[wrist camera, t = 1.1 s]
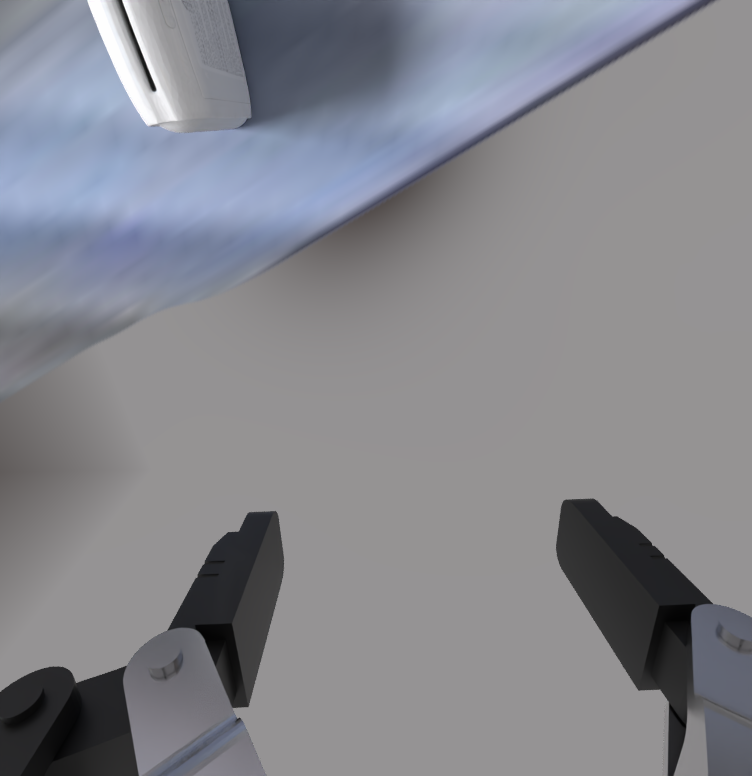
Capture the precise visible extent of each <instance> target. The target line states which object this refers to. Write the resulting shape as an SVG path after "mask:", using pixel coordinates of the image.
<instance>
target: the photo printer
mask: <svg viewBox="0 0 752 776" xmlns="http://www.w3.org/2000/svg"><path fill="white" fill-rule="evenodd" d="M87 1H88V4H89V6H90V9H91V12H92V14H93V17H94V19H95V22H96V24H97V26H98V29H99V32H100V34H101V36H102V39H103V41H104V43H105V46H106V48H107V50H108V53H109V55H110V57H111V60H112V62H113V64H114V66H115V69H116V71H117V73H118V75H119V77H120V79H121V81H122V83H123V85H124V87H125V89H126V91H127V93H128V95H129V97H130V99H131V101H132V103H133V104H134V106H135V108H136V109H137V111H138V112H139V114H140V116H141V117H142V119H143V120H144V122H145V123H146V124H147V125H148V126H150V127H155V126H161V127H163V128H164V129H167V130H169V131H172V132H177V133H191V132H205V131H218V130H230V129H235V128H238V127H240V126H241V125H242V124H244V122H245V121H246V120H247V118H251V104H250V96H249V91H248V86H247V81H246V76H245V71H244V67H243V63H242V58H241V54H240V50H239V45H238V41H237V37H236V32H235V28H234V24H233V20H232V16H231V11H230V8H229V3H228V0H87Z"/></svg>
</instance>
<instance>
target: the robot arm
mask: <svg viewBox="0 0 752 776" xmlns="http://www.w3.org/2000/svg"><path fill="white" fill-rule="evenodd" d="M556 551H557V557H558V561H559V564H560V566H561V568H562V570H563V572H564V573H565V575H566V577H567V578H568V580H569V581H570V583H571V584H572V586H573V588H574V589H575V591H576V592H577V594H578V596H579V597H580V599H581V600H582V602H583V603H584V605H585V607H586V608H587V610H588V611H589V613H590V615H591V616H592V618H593V619H594V621H595V622H596V624H597V626H598V627H599V629H600V630H601V632H602V634H603V635H604V637H605V638H606V640H607V641H608V643H609V644H610V646H611V648H612V649H613V651H614V652H615V654H616V656H617V657H618V659H619V660H620V662H621V664H622V665H623V667H624V668H625V670H626V672H627V673H628V675H629V676H630V678H631V679H632V681H633V683H634V684H635V686H636V687H637V689H638V690H659V689H660V690H661V691H662V693H663V694H664V695H665V697H666V698H667V702H666V706H665V711H664V748H663V776H752V617H750V616H748V615H746V614H744V613H741V612H740V611H737V610H735V609H732V608H729V607H726V606H721V605H716V604H713V603H712V602H711V601H710V600H709V599H708V598H707V597H706V596H705V595H704V594H703V593H701V591H700V590H699V589H698V588H697V587H696V586H694V584H693V583H692V582H690V581H689V580H688V579H687V578H686V577H685V576H684V575H683V574H682V573H681V572H680V571H679V570H678V569H677V568H676V567H675V566H674V565H673V564H672V563H671V562H670V561H669V560H668V559H665V558H664V555H663V554H662V553H661V552H660V551H659V550H658V549H657V548H656V547H655V546H652V543H651V542H650V541H649V540H648V539H647V538H646V537H645V536H644V535H643V534H642V533H641V532H640V531H639V530H638V529H637V528H635V527H634V526H632V525H630V524H629V523H627V522H625V521H624V520H622V519H620V518H619V517H612V516H611V515H610V514H609V513H608V512H607V511H606V510H605V509H604V508H603V506H602V505H601V504H600V503H599V502H598V501H596V500H595V499H572V500H564V501H563V503H562V506H561V513H560V521H559V528H558V536H557V544H556ZM283 571H284V556H283V548H282V541H281V533H280V526H279V518H278V514H277V512H276V511H270V512H249V513H248V514H247V516H246V518H245V520H244V522H243V524H242V526H241V528H240V531H239V532H228V533H227V534H226V535H225V536H223V537H222V538H221V539H220V540H219V541H218V542H217V543H216V544H215V545H214V546H213V547H212V549H211V551H210V553H209V555H208V556H207V558H206V560H205V564H204V565H203V566H202V568H201V569H200V571H199V573H198V577H197V578H196V579H195V581H194V582H193V584H192V586H191V588H190V590H189V592H188V594H187V596H186V597H185V599H184V601H183V603H182V605H181V606H180V608H179V610H178V612H177V614H176V616H175V618H174V619H173V621H172V623H171V625H170V627H169V629H168V630H167V631H166V632H163V633H161V634H159V635H157V636H156V637H154V638H152V639H151V640H149V641H148V642H147V643H146V644H144V645H143V646H142V647H141V648H140V649H139V650H138V651H137V652H136V653H135V654H134V656H133V657H132V658H131V660H130V662H129V663H128V665H127V666H125V667H122V668H119V669H117V670H114V671H111V672H108V673H105V674H102V675H99V676H96V677H93V678H90V679H87V680H84V681H81V682H78V683H76V682H75V679H74V677H73V675H72V673H71V672H70V671H69V670H68V669H66V668H64V667H48V668H44V669H40V670H37V671H35V672H32V673H30V674H28V675H26V676H24V677H22V678H20V679H18V680H17V681H15V682H13V683H12V684H10V685H9V686H8V687H6V688H5V689H4V690H2V691H1V692H0V776H266V774H265V771H264V769H263V767H262V765H261V762H260V760H259V757H258V755H257V753H256V750H255V748H254V745H253V743H252V741H251V738H250V736H249V734H248V732H247V729H246V727H245V725H244V723H243V721H242V720H241V718H238V719H237V717H236V715H235V713H234V711H233V708H238V707H248V706H249V703H250V699H251V695H252V692H253V688H254V684H255V680H256V677H257V673H258V669H259V665H260V662H261V658H262V654H263V650H264V646H265V643H266V639H267V635H268V632H269V628H270V624H271V620H272V616H273V612H274V609H275V605H276V601H277V598H278V593H279V590H280V586H281V582H282V578H283Z"/></svg>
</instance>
